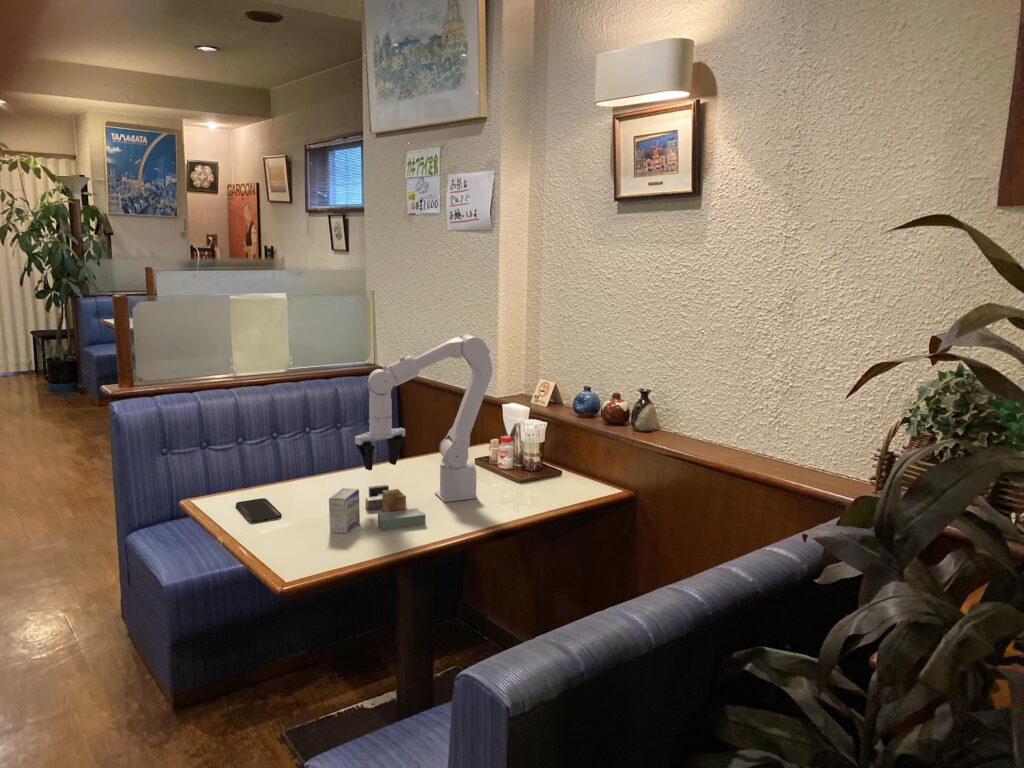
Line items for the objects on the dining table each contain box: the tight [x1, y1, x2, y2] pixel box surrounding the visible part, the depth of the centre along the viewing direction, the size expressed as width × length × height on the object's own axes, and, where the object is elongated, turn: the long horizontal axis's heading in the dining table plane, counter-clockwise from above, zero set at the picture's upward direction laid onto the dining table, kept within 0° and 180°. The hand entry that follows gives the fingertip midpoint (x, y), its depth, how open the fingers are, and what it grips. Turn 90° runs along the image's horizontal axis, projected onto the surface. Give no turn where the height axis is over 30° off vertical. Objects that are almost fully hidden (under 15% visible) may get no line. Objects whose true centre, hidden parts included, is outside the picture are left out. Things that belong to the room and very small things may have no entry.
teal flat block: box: [377, 507, 426, 531], centre depth 187 cm, size 11×5×2 cm, turn 115°
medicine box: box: [328, 487, 361, 534], centre depth 183 cm, size 8×4×9 cm, turn 168°
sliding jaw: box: [365, 484, 407, 511], centre depth 201 cm, size 10×9×3 cm
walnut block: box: [382, 488, 406, 513], centre depth 192 cm, size 4×6×6 cm, turn 25°
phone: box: [235, 497, 283, 524], centre depth 193 cm, size 8×1×15 cm
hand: (380, 466), depth 201 cm, fingers open, 7 cm apart
